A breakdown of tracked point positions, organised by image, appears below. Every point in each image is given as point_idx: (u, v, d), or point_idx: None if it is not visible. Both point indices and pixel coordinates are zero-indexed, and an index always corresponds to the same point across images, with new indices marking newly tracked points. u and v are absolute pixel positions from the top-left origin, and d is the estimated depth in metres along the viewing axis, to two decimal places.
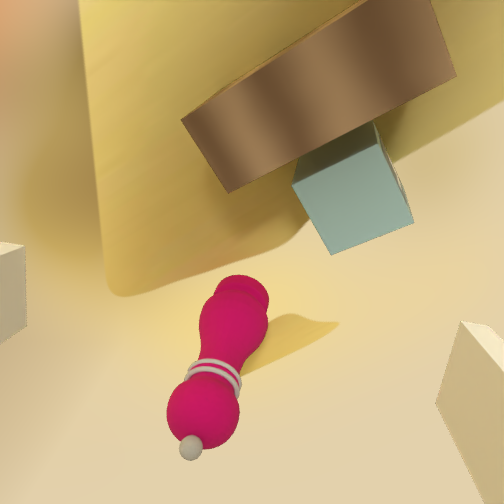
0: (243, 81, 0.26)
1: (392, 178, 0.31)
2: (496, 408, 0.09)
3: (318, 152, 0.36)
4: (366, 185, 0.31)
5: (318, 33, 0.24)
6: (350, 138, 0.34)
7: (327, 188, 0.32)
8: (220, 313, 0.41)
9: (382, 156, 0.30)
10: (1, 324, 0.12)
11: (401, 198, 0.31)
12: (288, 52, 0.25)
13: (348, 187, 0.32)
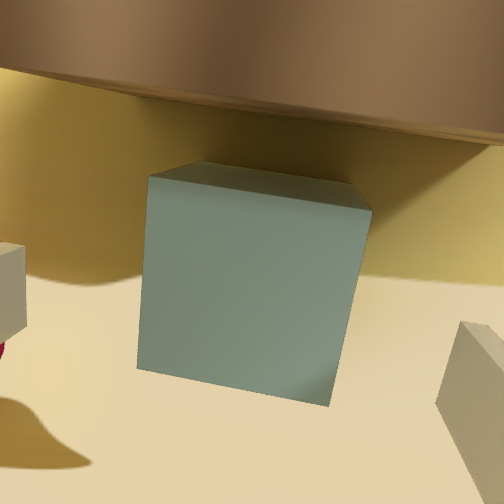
0: None
1: (350, 299, 0.13)
2: (495, 408, 0.09)
3: (239, 170, 0.18)
4: (294, 279, 0.13)
5: None
6: (307, 183, 0.17)
7: (217, 234, 0.13)
8: None
9: (362, 243, 0.13)
10: (1, 324, 0.12)
11: (338, 347, 0.14)
12: None
13: (258, 259, 0.13)
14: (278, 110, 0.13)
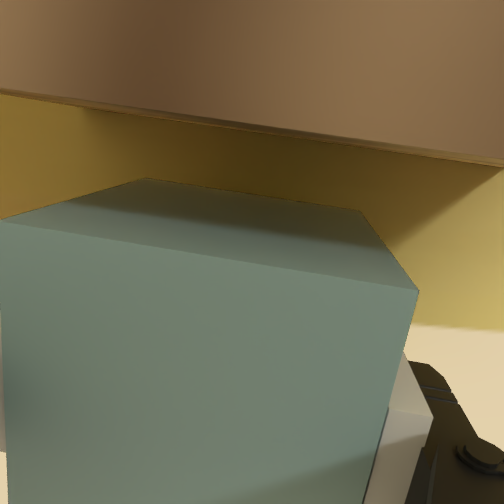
0: None
1: (372, 441, 0.07)
2: None
3: (192, 195, 0.12)
4: (270, 406, 0.07)
5: None
6: (295, 215, 0.11)
7: (129, 326, 0.07)
8: None
9: (398, 347, 0.07)
10: None
11: None
12: None
13: (205, 371, 0.07)
14: (244, 127, 0.10)
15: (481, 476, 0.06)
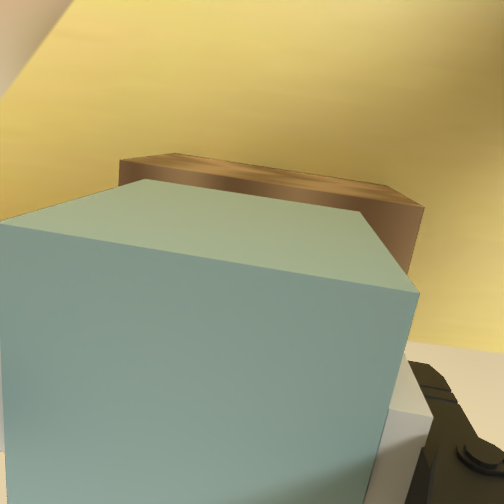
0: (212, 176, 0.22)
1: (373, 444, 0.07)
2: None
3: (192, 196, 0.12)
4: (270, 408, 0.07)
5: (310, 191, 0.21)
6: (295, 216, 0.11)
7: (128, 328, 0.07)
8: None
9: (398, 350, 0.07)
10: None
11: None
12: (272, 185, 0.22)
13: (205, 373, 0.07)
14: None
15: (481, 476, 0.06)
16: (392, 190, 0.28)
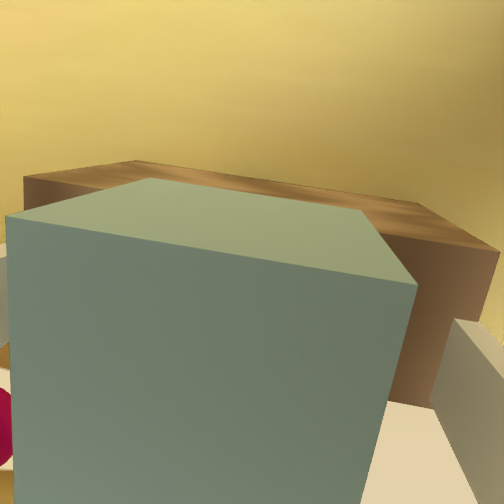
0: None
1: (373, 434, 0.07)
2: (486, 403, 0.09)
3: (196, 194, 0.12)
4: (272, 399, 0.07)
5: None
6: (297, 214, 0.11)
7: (134, 320, 0.07)
8: None
9: (397, 341, 0.07)
10: None
11: None
12: None
13: (209, 364, 0.07)
14: None
15: None
16: (431, 213, 0.20)
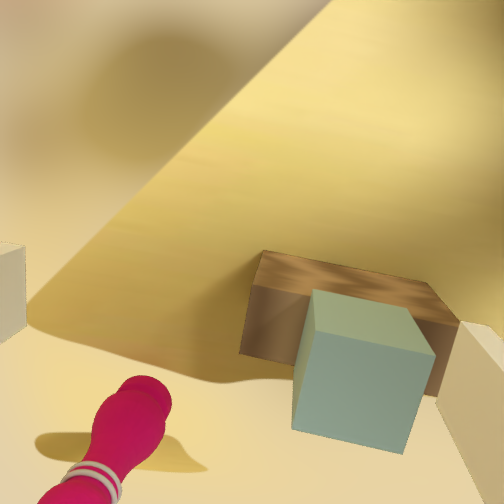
0: None
1: (420, 398, 0.25)
2: (495, 408, 0.09)
3: (342, 303, 0.29)
4: (390, 386, 0.25)
5: None
6: (385, 316, 0.28)
7: (350, 361, 0.25)
8: (131, 417, 0.40)
9: (429, 371, 0.24)
10: (1, 324, 0.12)
11: (411, 423, 0.25)
12: None
13: (371, 375, 0.25)
14: None
15: None
16: (434, 294, 0.37)
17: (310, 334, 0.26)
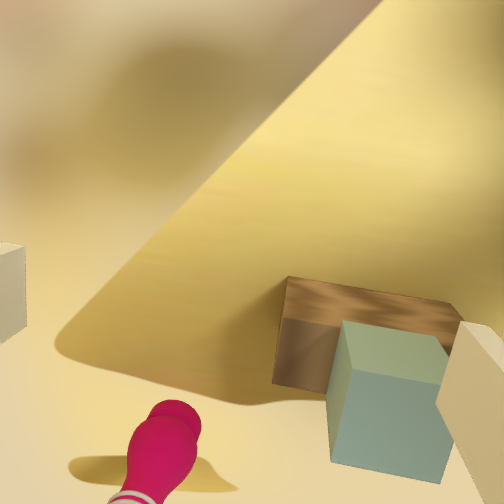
0: None
1: None
2: (495, 408, 0.09)
3: (373, 335, 0.30)
4: (426, 420, 0.26)
5: None
6: (416, 347, 0.29)
7: (386, 397, 0.25)
8: (166, 444, 0.41)
9: None
10: (1, 324, 0.12)
11: (448, 454, 0.26)
12: None
13: (408, 410, 0.26)
14: None
15: None
16: (459, 316, 0.38)
17: (345, 369, 0.27)
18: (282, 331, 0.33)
